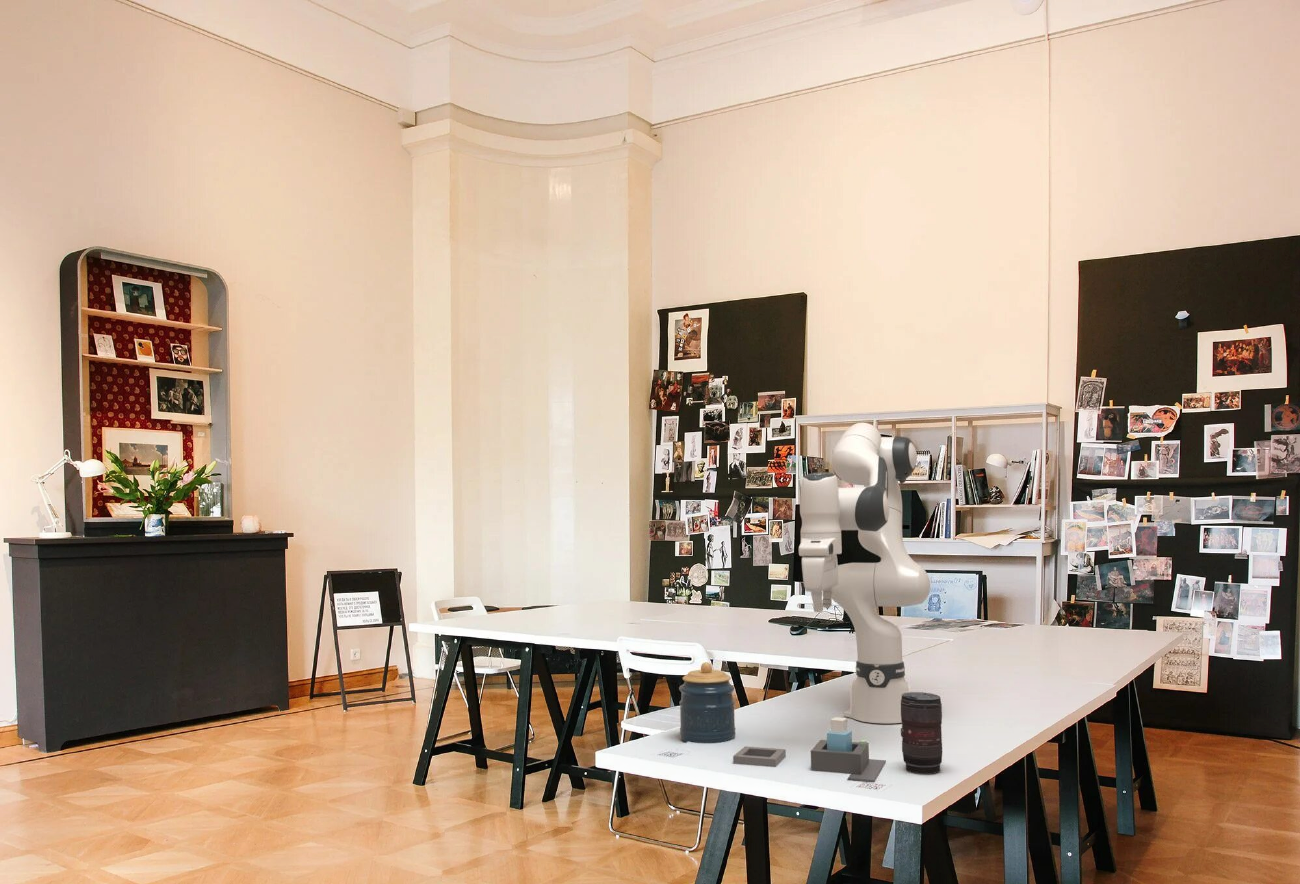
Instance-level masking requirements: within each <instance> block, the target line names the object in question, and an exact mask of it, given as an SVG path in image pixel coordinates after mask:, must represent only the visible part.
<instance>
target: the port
mask: <svg viewBox="0 0 1300 884" xmlns="http://www.w3.org/2000/svg"><path fill="white" fill-rule="evenodd" d="M869 751H870V748H869V742H868V741H867V740H866V739H864V740H863V739H861V740H860V741H859V742H857V741H852V752H850V751H836V750H827V739H820V740H819V741H818V742H817V743H816V744H815V745H814V747H813V748H812V749H811V750H810V771H813V772H822V773H823V772H825V773H835V774H836V773H837V774H845V775H846V774H847V775H848V774H849V777H848V778H847V779H846V781H853V782H866V783H875V781H876V780H877V778H878V777H879V775H880V773H881V771H882V770H883V768H884V766H885V765H886V763H887V760H884V759H876V758H875V759H874V758H870V752H869Z"/></svg>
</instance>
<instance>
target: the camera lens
mask: <svg viewBox="0 0 1300 884" xmlns="http://www.w3.org/2000/svg"><path fill="white" fill-rule="evenodd" d="M941 699H942V698H941V696H940V695H938V694H935V693H931V692H923V691H922V692H921V691H920V692H919V691H916V692H915V691H910V692H908V693H903V694H902V698H901V721H902V723H901V728H900V736H901V738H902V739H901V752H902V757H903V759H902V760H903V762H904V763H905V769H906V771H907V772H910V773H913V774H921V775H932V774H937V773H939V772H940V771H941V764H942V760H943V742H942V741H943V739H942V738H943V737H942V723H943V722H942V721H943V706H942V700H941Z"/></svg>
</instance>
